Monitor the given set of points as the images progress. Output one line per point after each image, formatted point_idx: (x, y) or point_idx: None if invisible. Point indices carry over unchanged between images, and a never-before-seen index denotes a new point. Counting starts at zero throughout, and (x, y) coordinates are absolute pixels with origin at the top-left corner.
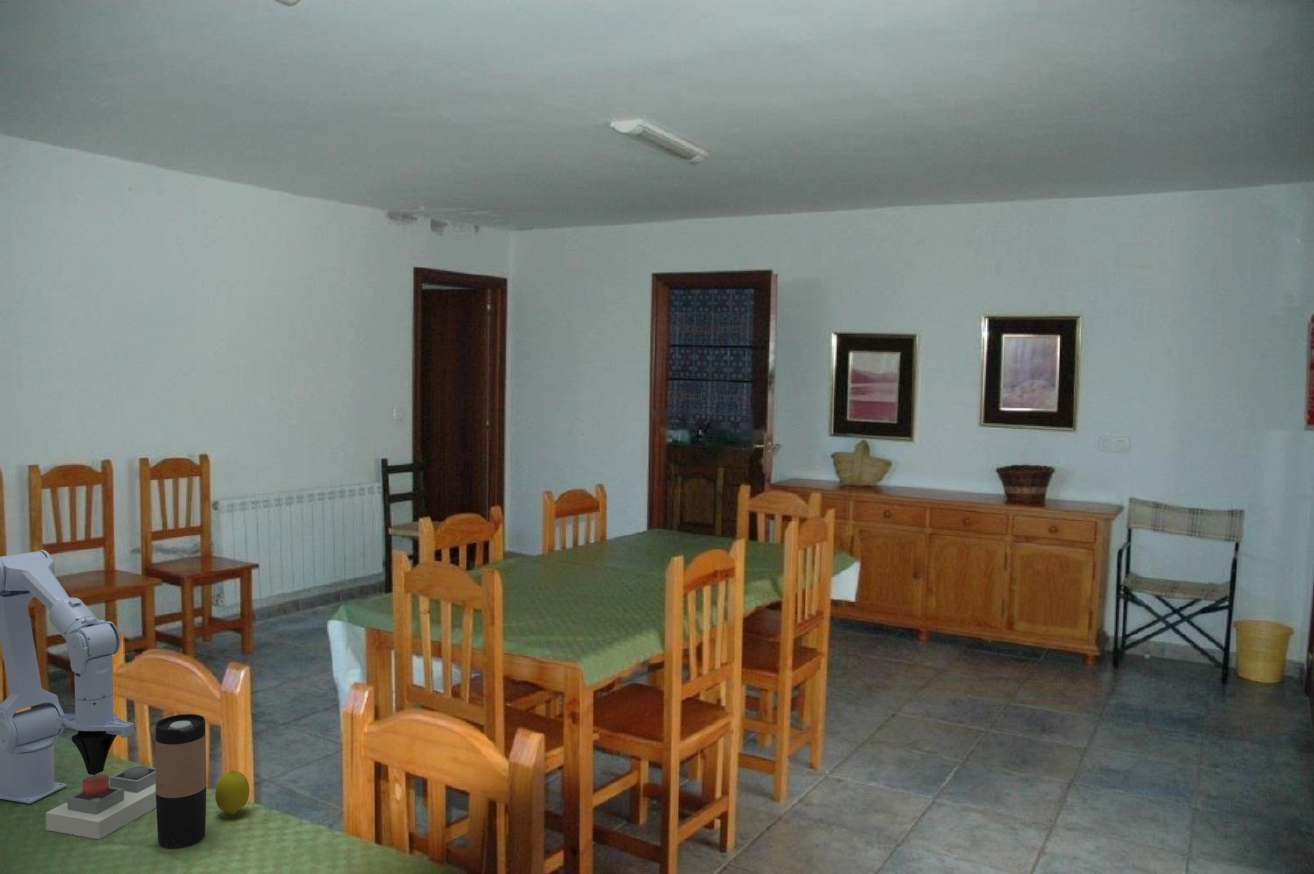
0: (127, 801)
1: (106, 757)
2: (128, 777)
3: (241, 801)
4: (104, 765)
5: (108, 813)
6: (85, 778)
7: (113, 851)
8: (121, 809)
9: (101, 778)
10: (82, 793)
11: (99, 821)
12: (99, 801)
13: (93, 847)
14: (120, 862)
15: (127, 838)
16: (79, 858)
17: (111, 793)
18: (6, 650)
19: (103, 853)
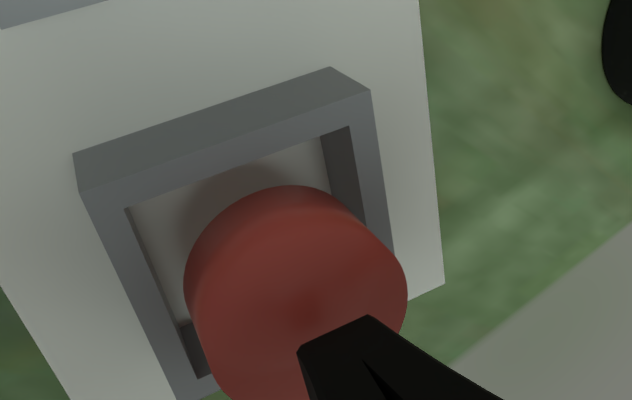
0: (368, 65)
1: (469, 381)
2: None
3: None
4: (404, 338)
5: (409, 217)
6: (218, 380)
7: (517, 237)
8: (429, 148)
9: (339, 290)
10: (169, 314)
11: (441, 279)
12: None
13: None
14: (588, 251)
15: (488, 156)
16: (454, 333)
17: (364, 189)
18: None
19: (497, 266)
